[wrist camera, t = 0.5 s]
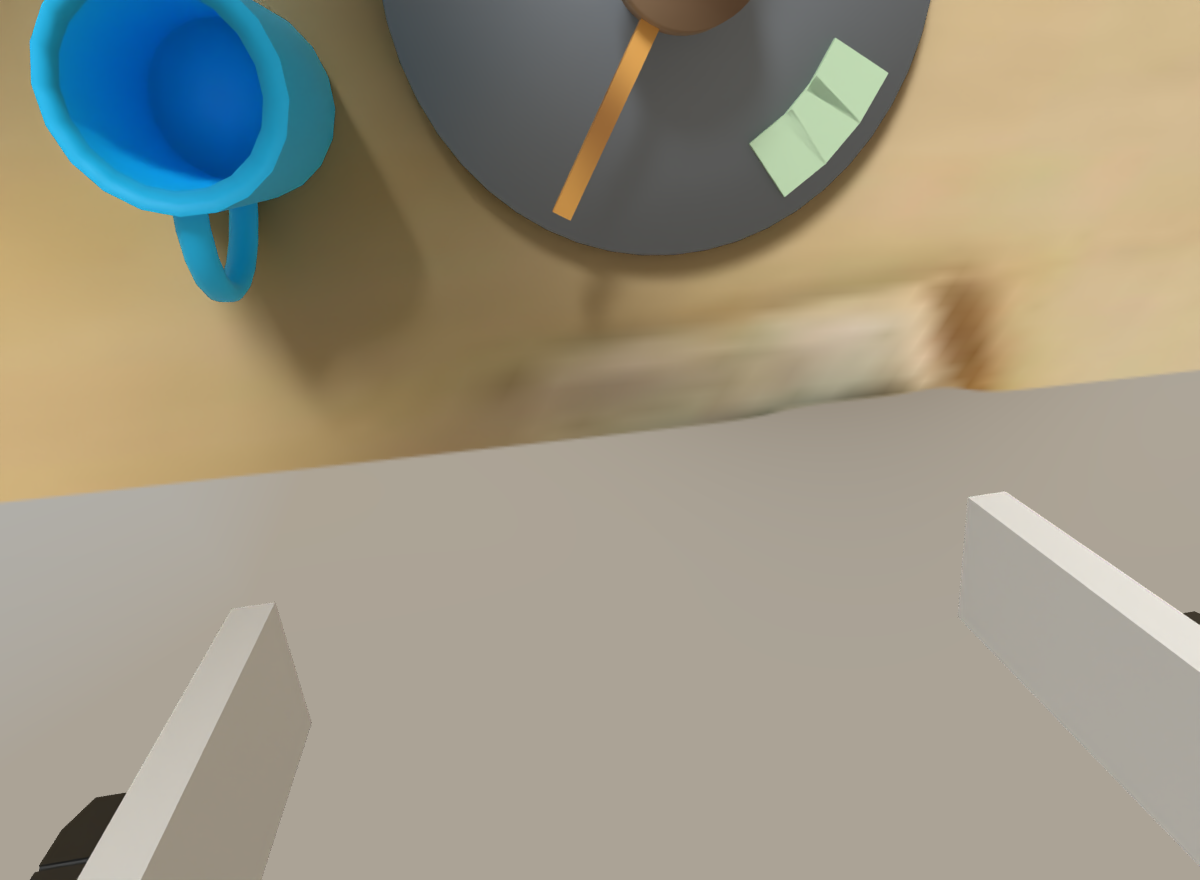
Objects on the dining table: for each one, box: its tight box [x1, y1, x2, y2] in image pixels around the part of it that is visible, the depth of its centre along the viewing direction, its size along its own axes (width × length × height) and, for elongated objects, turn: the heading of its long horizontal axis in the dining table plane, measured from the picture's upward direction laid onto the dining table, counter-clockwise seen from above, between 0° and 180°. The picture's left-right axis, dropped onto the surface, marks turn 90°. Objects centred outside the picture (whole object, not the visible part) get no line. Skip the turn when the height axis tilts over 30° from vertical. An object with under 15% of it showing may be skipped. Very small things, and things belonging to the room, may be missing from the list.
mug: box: [30, 0, 335, 302], centre depth 31 cm, size 12×8×8 cm
